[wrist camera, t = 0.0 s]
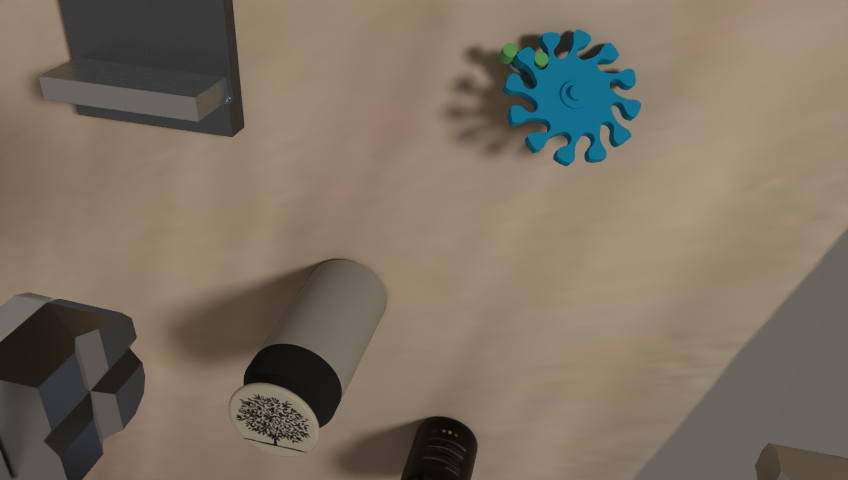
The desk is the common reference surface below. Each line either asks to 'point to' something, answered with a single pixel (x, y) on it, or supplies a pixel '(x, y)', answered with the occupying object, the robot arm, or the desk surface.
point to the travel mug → (308, 359)
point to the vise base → (152, 64)
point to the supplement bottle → (441, 452)
